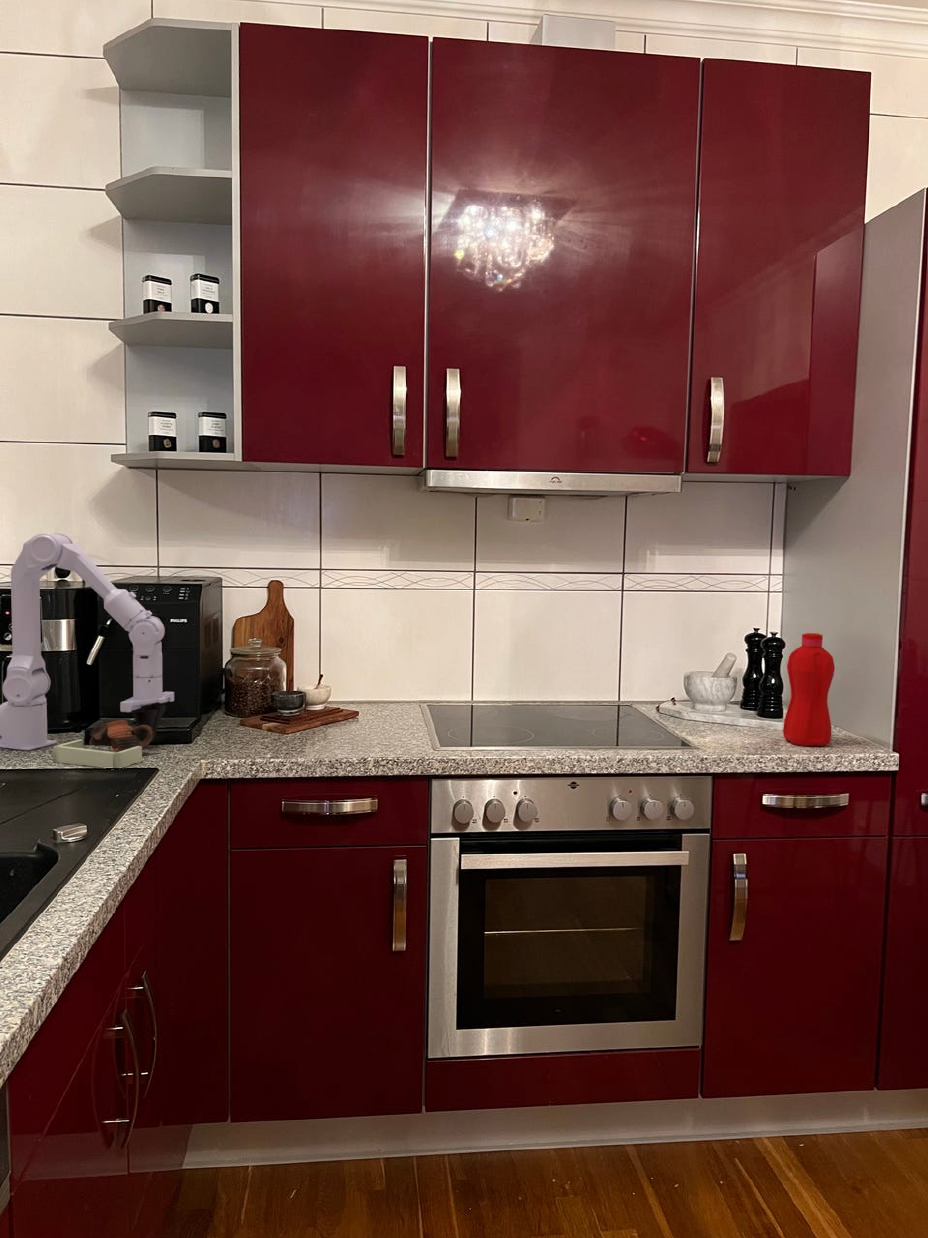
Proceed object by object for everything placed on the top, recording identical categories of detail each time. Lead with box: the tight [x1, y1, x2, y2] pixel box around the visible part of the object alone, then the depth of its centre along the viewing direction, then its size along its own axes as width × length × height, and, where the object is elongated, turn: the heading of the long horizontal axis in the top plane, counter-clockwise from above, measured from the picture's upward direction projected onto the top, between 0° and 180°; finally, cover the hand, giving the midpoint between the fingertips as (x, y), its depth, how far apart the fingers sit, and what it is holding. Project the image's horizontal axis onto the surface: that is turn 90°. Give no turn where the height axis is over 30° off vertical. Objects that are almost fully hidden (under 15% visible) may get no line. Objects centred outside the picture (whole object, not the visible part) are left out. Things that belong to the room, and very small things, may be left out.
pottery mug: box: [89, 719, 154, 752], centre depth 186 cm, size 12×10×8 cm
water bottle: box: [782, 632, 836, 747], centre depth 212 cm, size 9×11×25 cm
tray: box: [52, 738, 143, 768], centre depth 180 cm, size 15×7×3 cm, turn 70°
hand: (148, 740), depth 194 cm, fingers closed
